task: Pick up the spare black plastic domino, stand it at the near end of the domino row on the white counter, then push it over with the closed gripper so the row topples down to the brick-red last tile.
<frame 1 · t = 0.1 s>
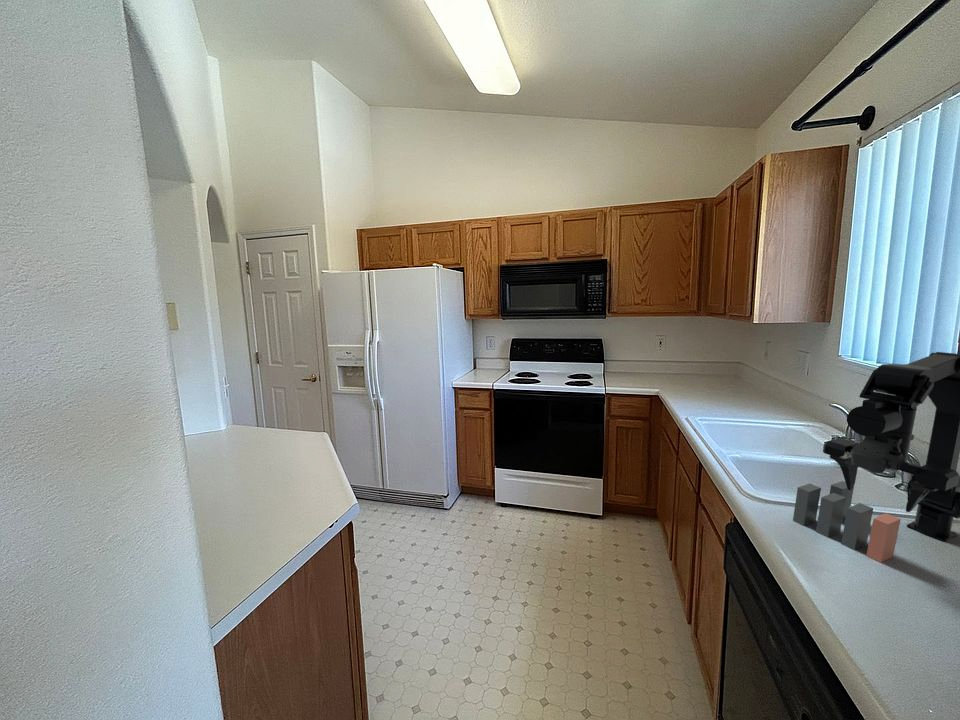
hand: (877, 500, 81), 14 cm above the worktop, fingers open, 9 cm apart
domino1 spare: (837, 517, 100), on the worktop
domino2: (804, 520, 99), on the worktop
domino4: (853, 544, 90), on the worktop
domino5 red: (879, 556, 86), on the worktop
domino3: (827, 531, 94), on the worktop
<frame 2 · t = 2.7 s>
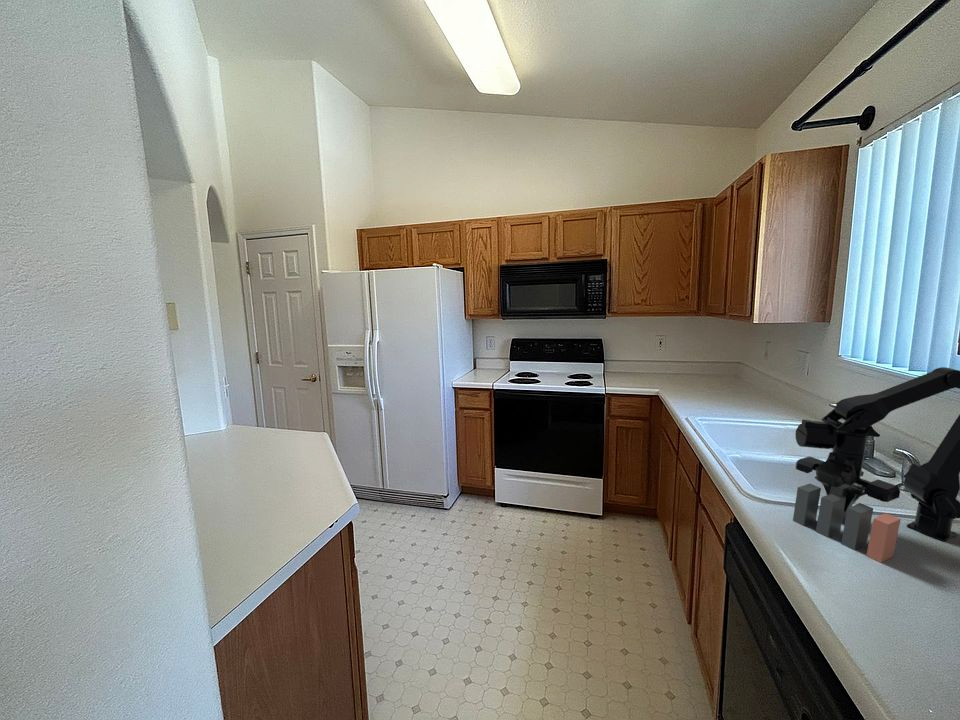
hand: (838, 508, 100), 3 cm above the worktop, fingers closed on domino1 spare, 2 cm apart
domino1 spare: (837, 517, 100), on the worktop, touching gripper
everything else where it was.
when the fingers open (3 cm above the worktop, at t = 7.5 s): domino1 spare stays where it is, on the worktop.
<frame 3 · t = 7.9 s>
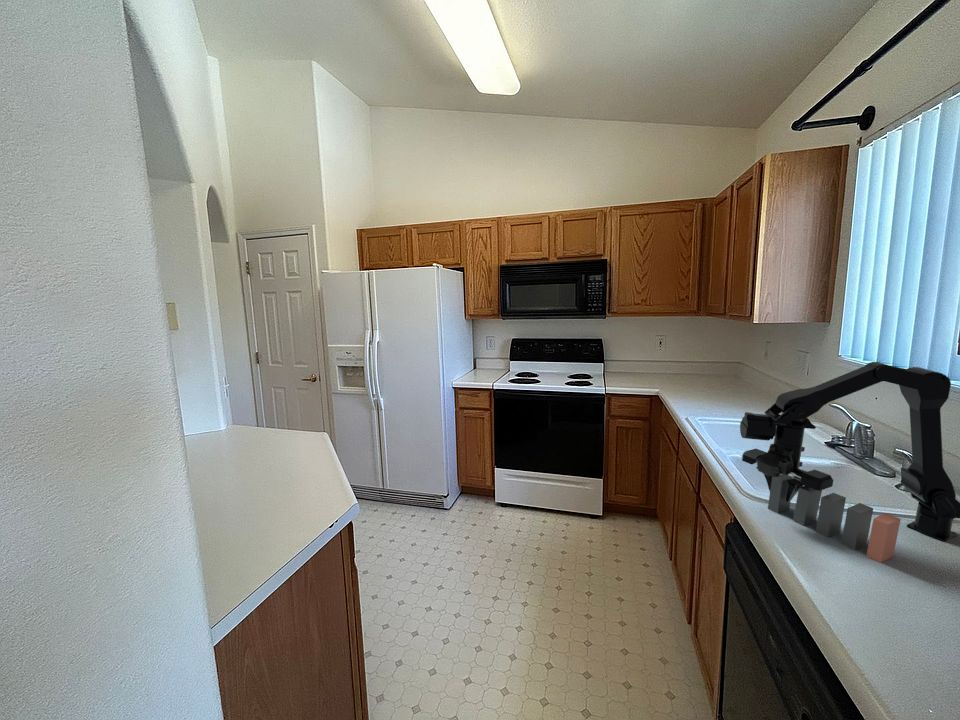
hand: (780, 498, 104), 3 cm above the worktop, fingers open, 3 cm apart
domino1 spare: (778, 508, 104), on the worktop
everything else where it was.
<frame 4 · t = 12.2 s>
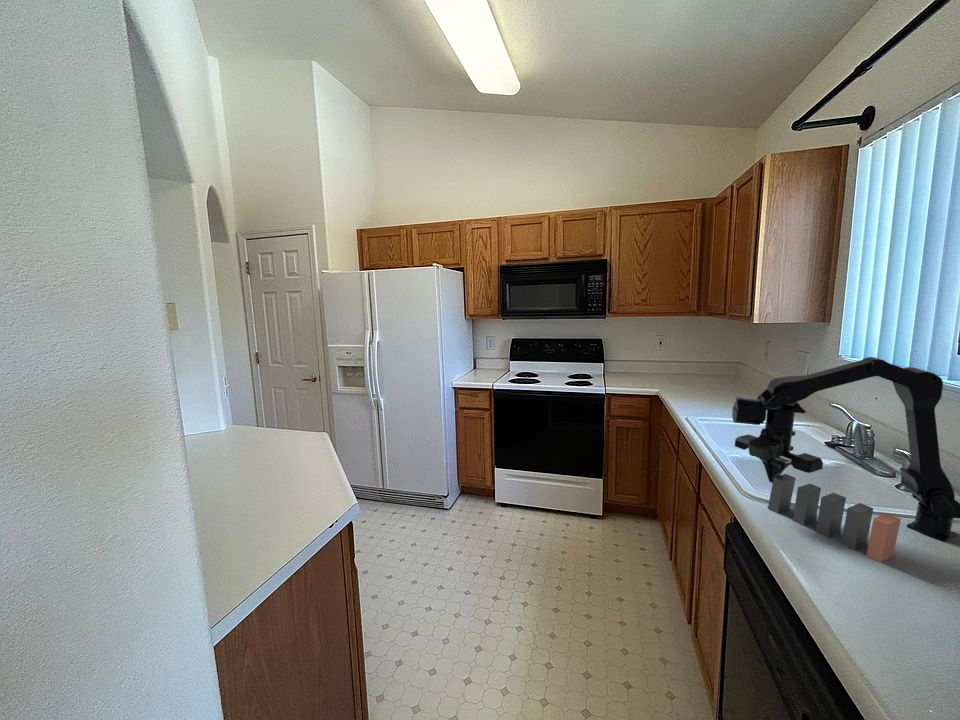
hand: (772, 482, 106), 6 cm above the worktop, fingers closed
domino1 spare: (778, 508, 104), on the worktop, touching gripper
everything else where it was.
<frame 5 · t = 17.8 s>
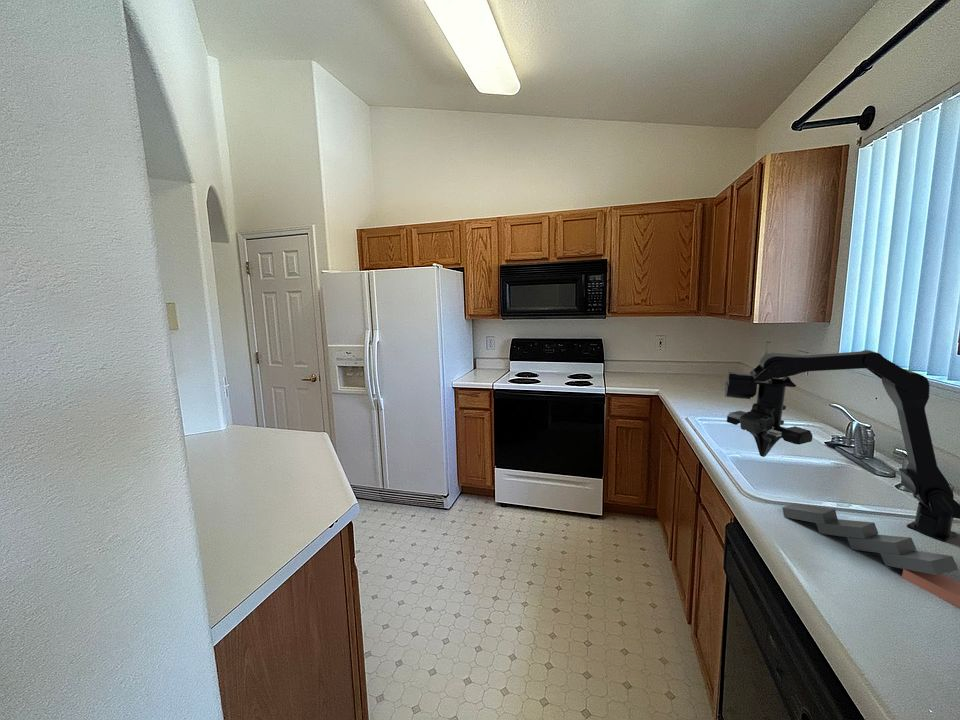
hand: (762, 456, 107), 12 cm above the worktop, fingers closed
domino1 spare: (789, 510, 102), point 1 cm above the worktop, tilted 70°, touching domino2
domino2: (824, 525, 95), point 1 cm above the worktop, tilted 65°, touching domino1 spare
domino4: (892, 556, 83), point 2 cm above the worktop, tilted 63°, touching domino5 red
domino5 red: (909, 571, 80), point 1 cm above the worktop, tilted 90°, touching domino4
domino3: (857, 541, 89), point 1 cm above the worktop, tilted 62°
at the end: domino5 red tilted 90°; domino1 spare inside the target area (1.7 cm from its centre), point 1.1 cm above the worktop; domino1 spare tilted 70° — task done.
